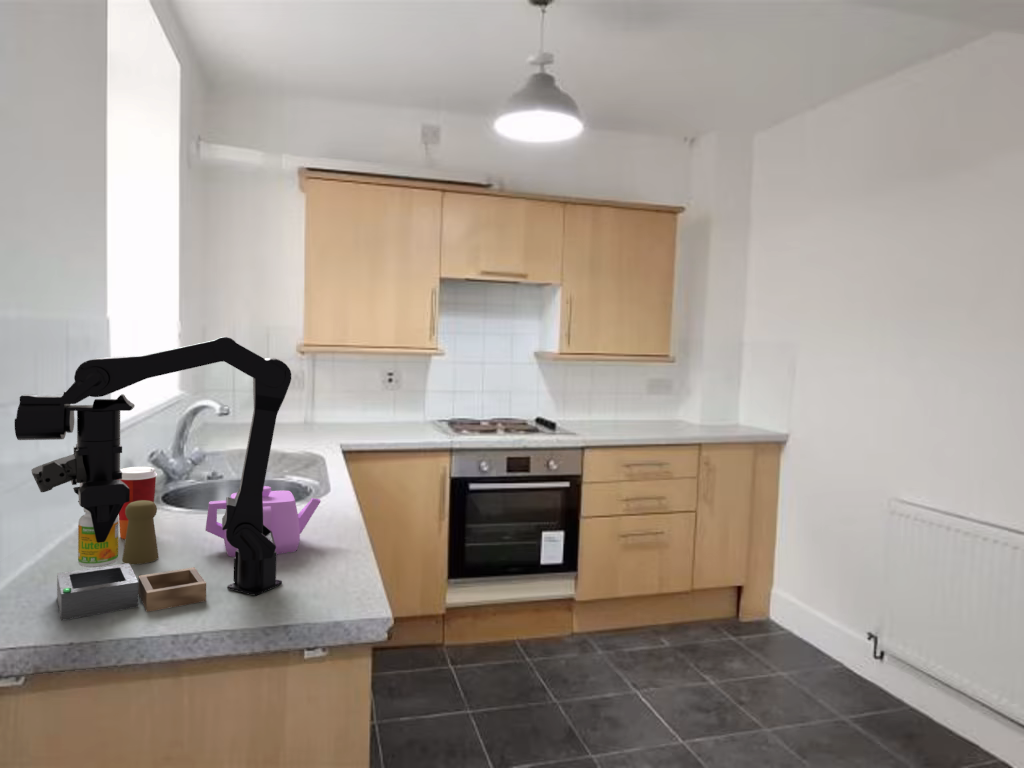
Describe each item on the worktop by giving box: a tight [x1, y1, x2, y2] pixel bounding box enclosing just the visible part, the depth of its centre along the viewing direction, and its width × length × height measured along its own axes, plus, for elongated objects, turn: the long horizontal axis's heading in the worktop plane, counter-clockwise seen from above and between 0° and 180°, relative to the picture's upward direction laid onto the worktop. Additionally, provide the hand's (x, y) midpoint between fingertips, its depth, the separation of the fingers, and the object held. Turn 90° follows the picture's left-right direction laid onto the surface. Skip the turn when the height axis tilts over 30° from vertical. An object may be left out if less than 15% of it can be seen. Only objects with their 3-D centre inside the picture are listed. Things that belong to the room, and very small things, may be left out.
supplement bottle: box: [77, 508, 119, 568], centre depth 105 cm, size 5×5×10 cm
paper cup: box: [117, 466, 158, 540], centre depth 139 cm, size 8×8×14 cm
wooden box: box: [137, 567, 207, 613], centre depth 109 cm, size 8×8×3 cm
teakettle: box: [205, 485, 322, 558], centre depth 136 cm, size 17×17×12 cm
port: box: [56, 563, 139, 621], centre depth 105 cm, size 10×10×4 cm
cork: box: [121, 500, 159, 565], centre depth 125 cm, size 6×6×11 cm
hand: (98, 537), depth 105 cm, fingers closed on supplement bottle, 5 cm apart
